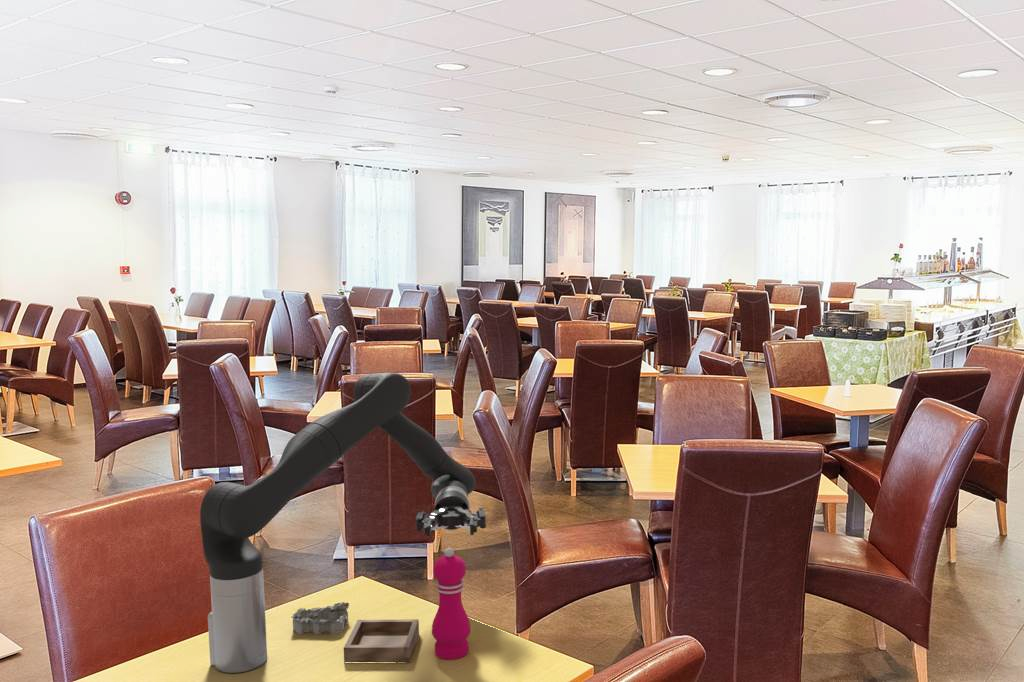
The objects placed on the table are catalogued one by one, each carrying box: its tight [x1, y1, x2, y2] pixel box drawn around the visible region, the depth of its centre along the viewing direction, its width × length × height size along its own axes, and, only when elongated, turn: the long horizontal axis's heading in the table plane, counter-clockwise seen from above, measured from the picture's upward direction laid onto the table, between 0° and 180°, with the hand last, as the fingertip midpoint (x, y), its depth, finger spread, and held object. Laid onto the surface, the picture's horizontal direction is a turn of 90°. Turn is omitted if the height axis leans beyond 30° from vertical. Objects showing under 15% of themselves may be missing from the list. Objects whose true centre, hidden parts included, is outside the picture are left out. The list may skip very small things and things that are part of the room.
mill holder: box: [343, 618, 420, 664], centre depth 160 cm, size 12×12×3 cm
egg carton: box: [290, 601, 350, 635], centre depth 170 cm, size 11×8×4 cm
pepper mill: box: [431, 547, 471, 660], centre depth 157 cm, size 7×7×20 cm
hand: (450, 531), depth 167 cm, fingers open, 8 cm apart
